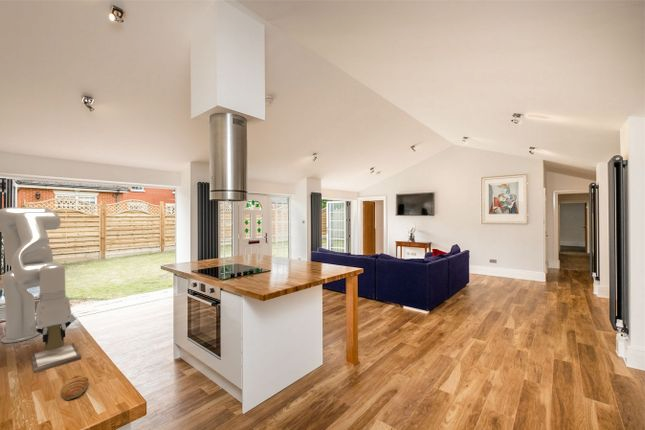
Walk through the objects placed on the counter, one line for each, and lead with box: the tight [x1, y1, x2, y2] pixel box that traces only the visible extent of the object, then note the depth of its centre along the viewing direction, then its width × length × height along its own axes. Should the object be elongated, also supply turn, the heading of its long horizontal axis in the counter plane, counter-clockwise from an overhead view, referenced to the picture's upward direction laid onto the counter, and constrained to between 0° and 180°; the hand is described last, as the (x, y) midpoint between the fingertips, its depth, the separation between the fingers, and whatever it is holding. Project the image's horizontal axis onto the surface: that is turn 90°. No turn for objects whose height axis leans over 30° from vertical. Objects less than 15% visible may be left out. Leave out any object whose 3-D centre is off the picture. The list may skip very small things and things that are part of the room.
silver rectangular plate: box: [30, 343, 82, 374], centre depth 116 cm, size 18×13×1 cm
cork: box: [43, 324, 65, 351], centre depth 118 cm, size 6×6×11 cm
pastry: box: [60, 374, 89, 401], centre depth 93 cm, size 9×7×4 cm
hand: (54, 341), depth 118 cm, fingers closed on cork, 3 cm apart
